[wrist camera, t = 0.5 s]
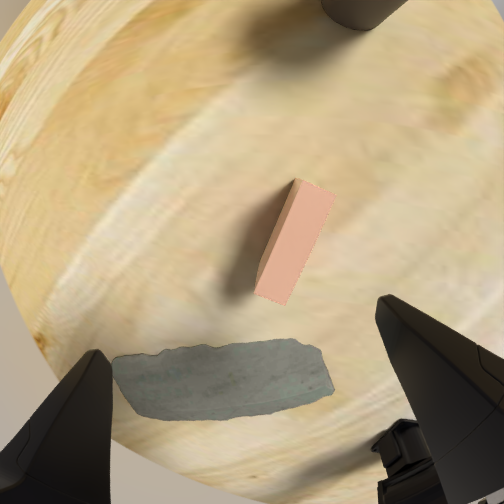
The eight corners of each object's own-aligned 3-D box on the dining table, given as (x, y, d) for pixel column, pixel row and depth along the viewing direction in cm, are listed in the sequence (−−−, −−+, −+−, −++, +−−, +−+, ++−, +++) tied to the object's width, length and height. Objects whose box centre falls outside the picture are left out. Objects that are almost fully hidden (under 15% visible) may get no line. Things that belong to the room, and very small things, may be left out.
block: (319, 189, 21) (336, 195, 15) (283, 271, 23) (284, 305, 17) (295, 178, 21) (302, 179, 15) (259, 262, 22) (253, 293, 17)
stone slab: (114, 349, 28) (148, 418, 29) (101, 360, 26) (140, 431, 27) (317, 310, 25) (335, 394, 26) (321, 321, 22) (339, 410, 24)
